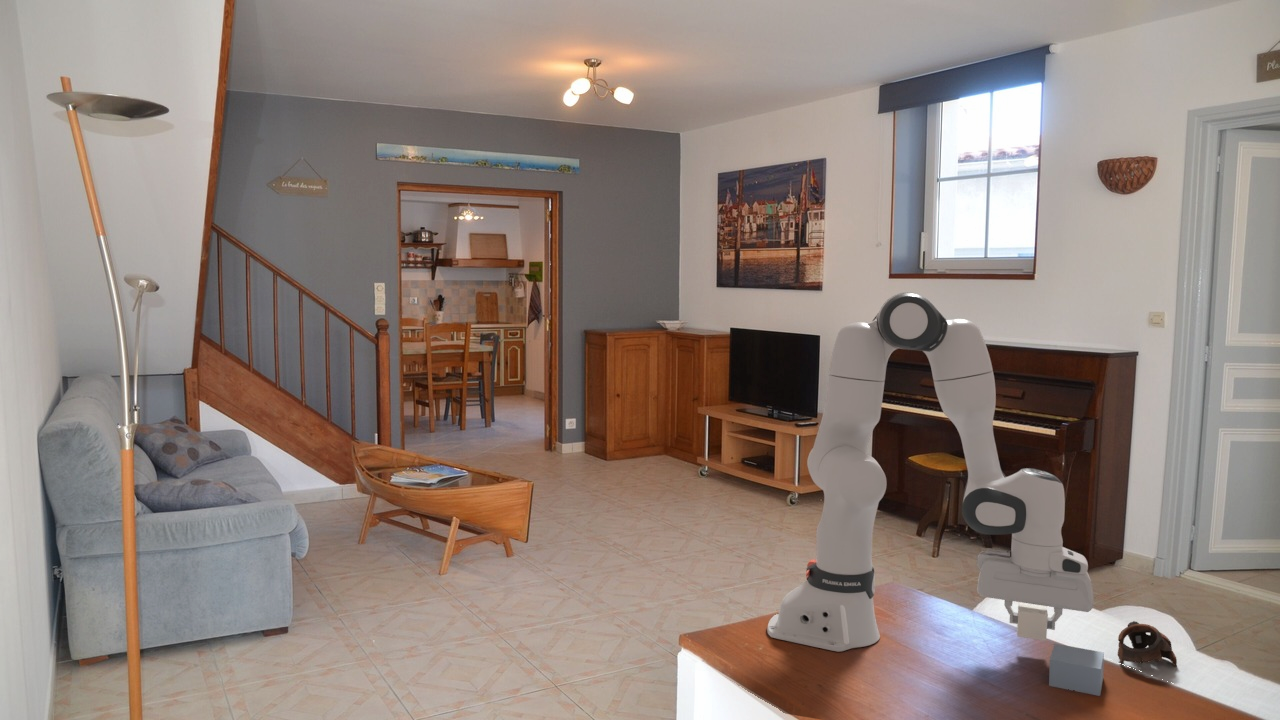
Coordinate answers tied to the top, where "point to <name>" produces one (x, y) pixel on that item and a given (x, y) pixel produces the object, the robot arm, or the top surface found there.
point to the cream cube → (1032, 621)
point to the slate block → (1076, 669)
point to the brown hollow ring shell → (1144, 644)
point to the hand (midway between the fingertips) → (1031, 625)
